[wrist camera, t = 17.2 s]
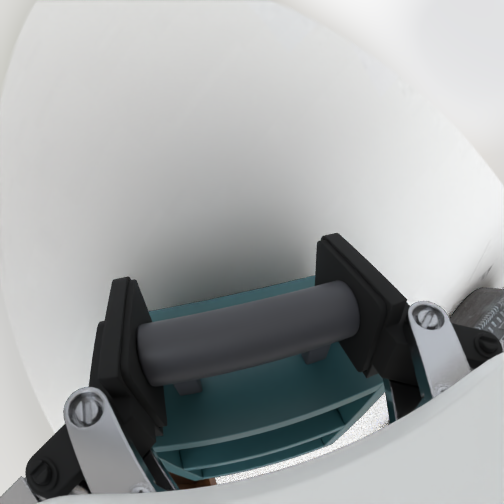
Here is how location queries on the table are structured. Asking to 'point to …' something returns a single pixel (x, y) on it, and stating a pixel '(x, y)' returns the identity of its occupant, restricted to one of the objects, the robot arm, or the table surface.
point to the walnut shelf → (191, 482)
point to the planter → (482, 311)
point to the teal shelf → (255, 376)
